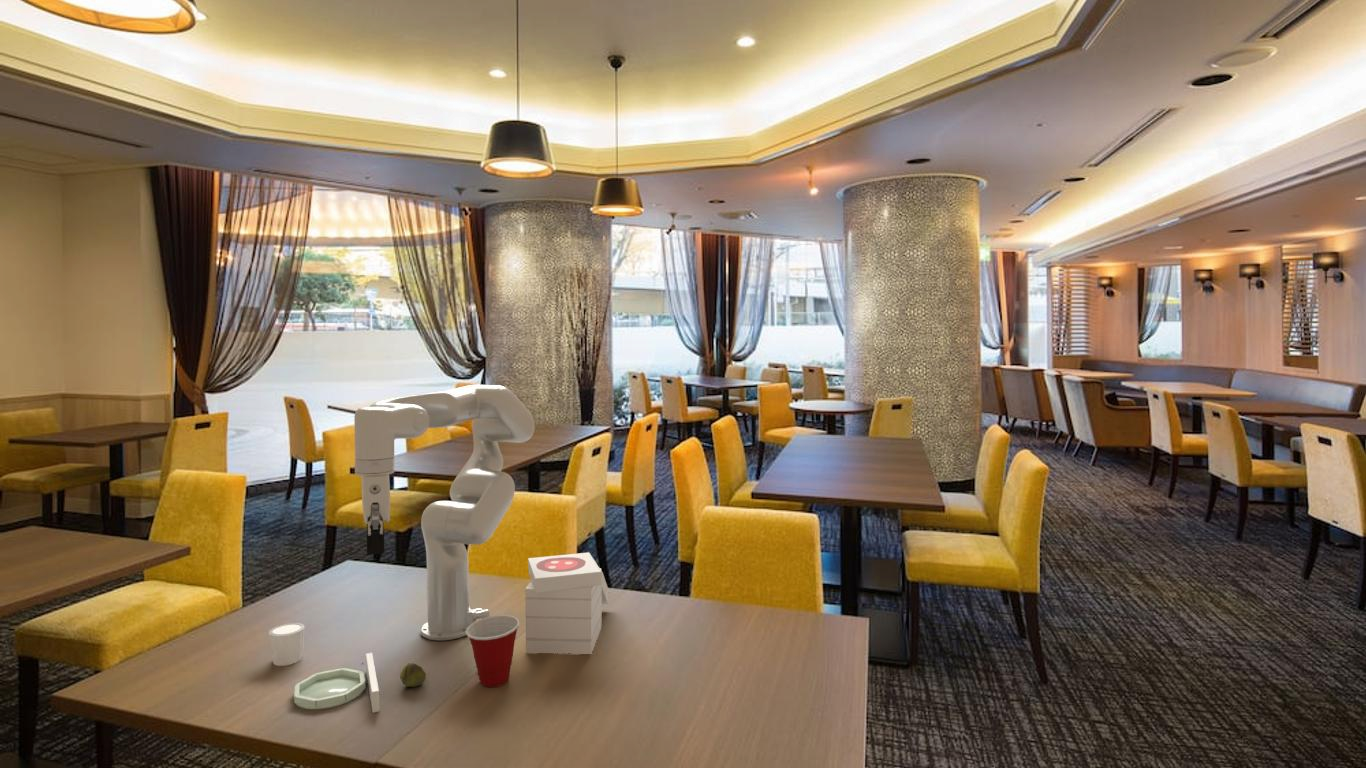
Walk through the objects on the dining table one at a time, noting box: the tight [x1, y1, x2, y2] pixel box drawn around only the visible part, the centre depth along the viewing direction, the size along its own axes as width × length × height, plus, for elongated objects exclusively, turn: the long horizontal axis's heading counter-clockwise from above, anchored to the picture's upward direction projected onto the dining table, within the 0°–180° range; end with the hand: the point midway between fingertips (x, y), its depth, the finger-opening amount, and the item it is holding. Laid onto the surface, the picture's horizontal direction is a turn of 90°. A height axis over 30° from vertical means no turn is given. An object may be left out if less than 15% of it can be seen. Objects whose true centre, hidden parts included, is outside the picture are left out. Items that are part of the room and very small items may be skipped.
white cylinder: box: [268, 622, 305, 667], centre depth 153 cm, size 7×7×7 cm
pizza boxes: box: [524, 551, 610, 655], centre depth 169 cm, size 19×30×18 cm, turn 178°
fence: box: [365, 652, 380, 714], centre depth 140 cm, size 1×18×4 cm, turn 28°
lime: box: [400, 662, 427, 688], centre depth 142 cm, size 4×5×5 cm
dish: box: [293, 667, 367, 710], centre depth 140 cm, size 13×13×2 cm
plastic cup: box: [465, 614, 520, 688], centre depth 144 cm, size 11×11×12 cm
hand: (375, 547), depth 146 cm, fingers open, 9 cm apart
